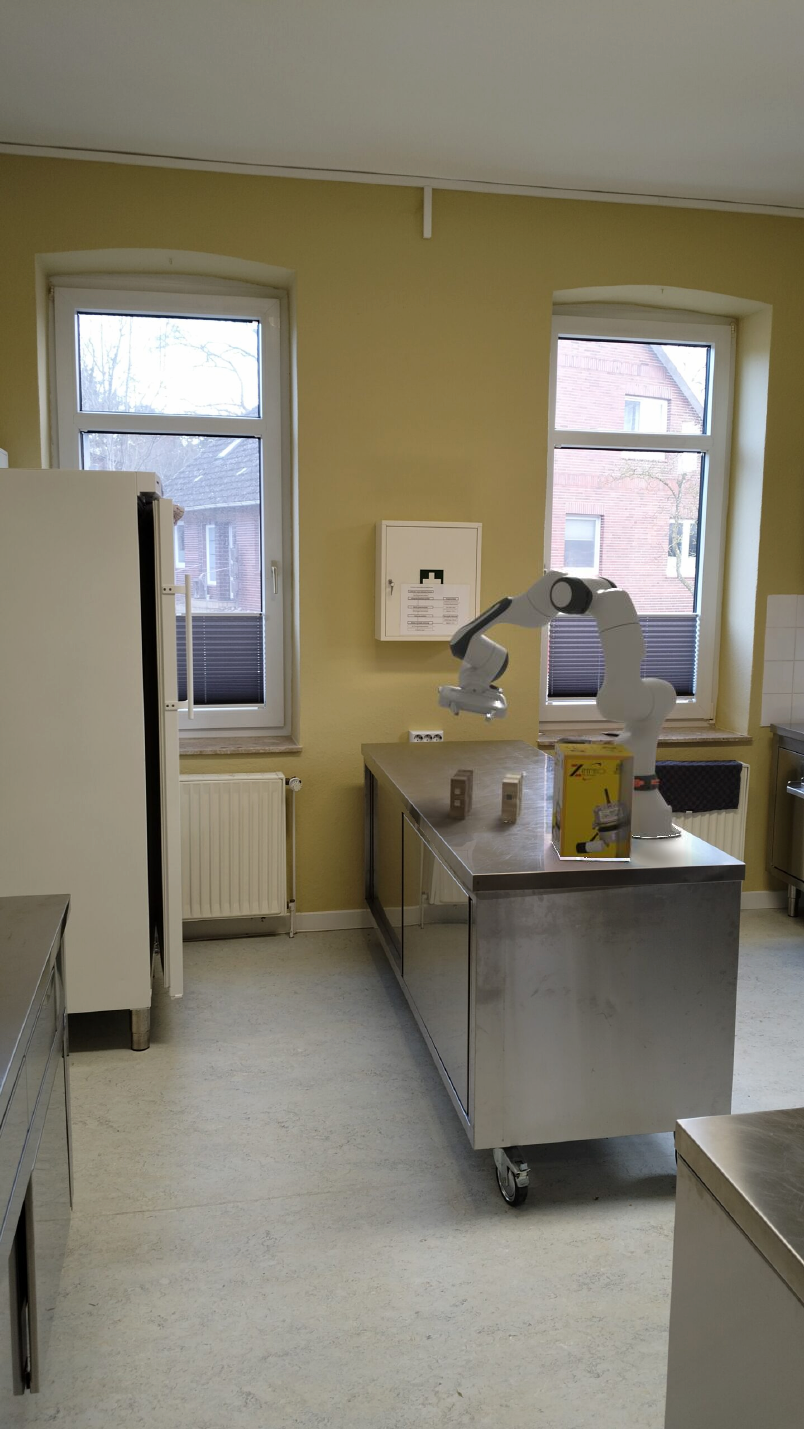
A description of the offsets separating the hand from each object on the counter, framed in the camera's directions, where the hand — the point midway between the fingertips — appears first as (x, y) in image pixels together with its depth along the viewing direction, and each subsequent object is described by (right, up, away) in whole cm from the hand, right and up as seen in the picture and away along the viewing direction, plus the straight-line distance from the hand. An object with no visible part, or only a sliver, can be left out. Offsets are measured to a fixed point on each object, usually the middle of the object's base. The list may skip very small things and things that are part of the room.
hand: (472, 717), depth 289 cm
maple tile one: (+10, -27, -12) cm, 31 cm away
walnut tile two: (-4, -27, -9) cm, 28 cm away
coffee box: (+32, -23, +22) cm, 45 cm away
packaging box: (+25, -33, -47) cm, 62 cm away
